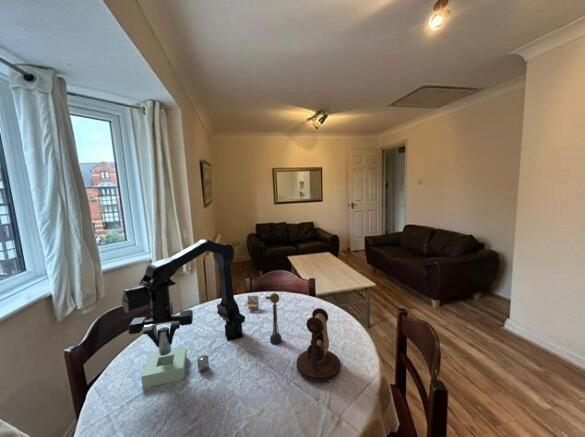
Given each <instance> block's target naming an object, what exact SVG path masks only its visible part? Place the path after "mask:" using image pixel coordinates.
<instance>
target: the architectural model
mask: <svg viewBox="0 0 585 437" xmlns="http://www.w3.org/2000/svg"><path fill="white" fill-rule="evenodd" d="M243 306H244V307H247V309H248V310H253V311H256V310H257V311H258V310H260V302H259V295H247V302H245V303H244V305H243Z"/></svg>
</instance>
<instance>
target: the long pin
mask: <svg viewBox="0 0 585 437" xmlns="http://www.w3.org/2000/svg"><path fill="white" fill-rule="evenodd" d="M157 334H158V344H159V347H158V352H159V354H160V355H161V356H164V355H167V354H169V353H170V352H171V350H172V348H171V345H170V327H167V326H166V327H161V328H159V329H157Z"/></svg>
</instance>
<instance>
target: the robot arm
mask: <svg viewBox="0 0 585 437" xmlns="http://www.w3.org/2000/svg"><path fill="white" fill-rule="evenodd" d="M206 252H211V253H212V255H213V258H214V261H215V263H216V264H217V266H218V273H219V274H218V275H219V284H220V297H221V301H220V302H219V303H217V304H216V308H217V312H216V313H217V314H218V317H220V318H221V319H222V320H223V321H225V324H224V337H225V338H226V341H230V340H235V339H240V338H243V337H244V334H243V323H245V322H246V321H245V320H246V316H245V315H243V314H242V313H241V312H240V309H239V308H240V307H239V305H238V303H237V301H236V299H235V296H234V285H233V283H234V282H233V274H232V263H233V261H234V258H235V248H234V246H233V245H231V244H229V243H224V242H214V241H212V240H210V239H205V238H202V239H200V240H198V241H197V242H196V243H193V244H191V245H190V246H188V247H187V248H185V249H183V250H181V251H179V252H178V253H176V254H174V255H173V256H170V257H167V258H163V259H159V260H156V261H154V262H151V263H149V264H148V265H147V267H146V269H145V274H143V277H142V278H141V280H140V282H139V283H138V286H135V287H131V288H130V287H129V288H124V289H123V293H122V298H121V304H122V309H123V310H124V312H125V313H126V314H128V313H132V312H134V311H136V310H139V309H142V308H145V307H148V305H150V308H149V309H150V313H151V317H152V318H151V319H148V320H147V317H146V316H142V317H134V318H133V319H132V321H131V322H130V323H129V325H128V327H127V328H128V329H127V330H128V335H136V334H140V333H141V332H142V331H143V332H142V333H143V335H147V336H148V338H150V340H151V341H152V342H153V343H154V345H155V346H156V347H157V348H159V344H158V333H157V331H158V328H157V326H158V325H165V324H166V325H167V324H170V326H169V334H170V346H171V345H172V344H173V339H174V335H175V333H176V332H177V329H180V328H181V326H188V325H189V326H190V325H192V324H193V322H194V321H193V320H194V311H193V310H192V309H188V310H181V311H179V314H176V315H175V314H174V302H173V301H171V294H170V287H172V286H175V285H176V283H177V282H175V281H173V280H172V279H171V278H172V277H173V276H175V274H176V273H177V271H178V270H179V269H180V268H181V267H183V266H185V265H187V264H188V263H189V262H192V261H193V260H195V259H197V258H198V257H199V256H202V255H203V254H205V253H206Z"/></svg>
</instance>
